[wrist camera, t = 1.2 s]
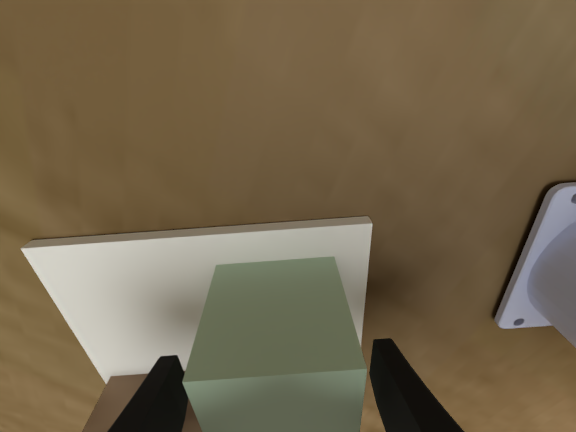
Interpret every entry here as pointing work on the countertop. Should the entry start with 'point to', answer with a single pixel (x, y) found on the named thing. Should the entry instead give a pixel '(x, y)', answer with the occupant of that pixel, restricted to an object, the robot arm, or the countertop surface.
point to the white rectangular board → (177, 281)
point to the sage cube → (277, 351)
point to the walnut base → (119, 396)
